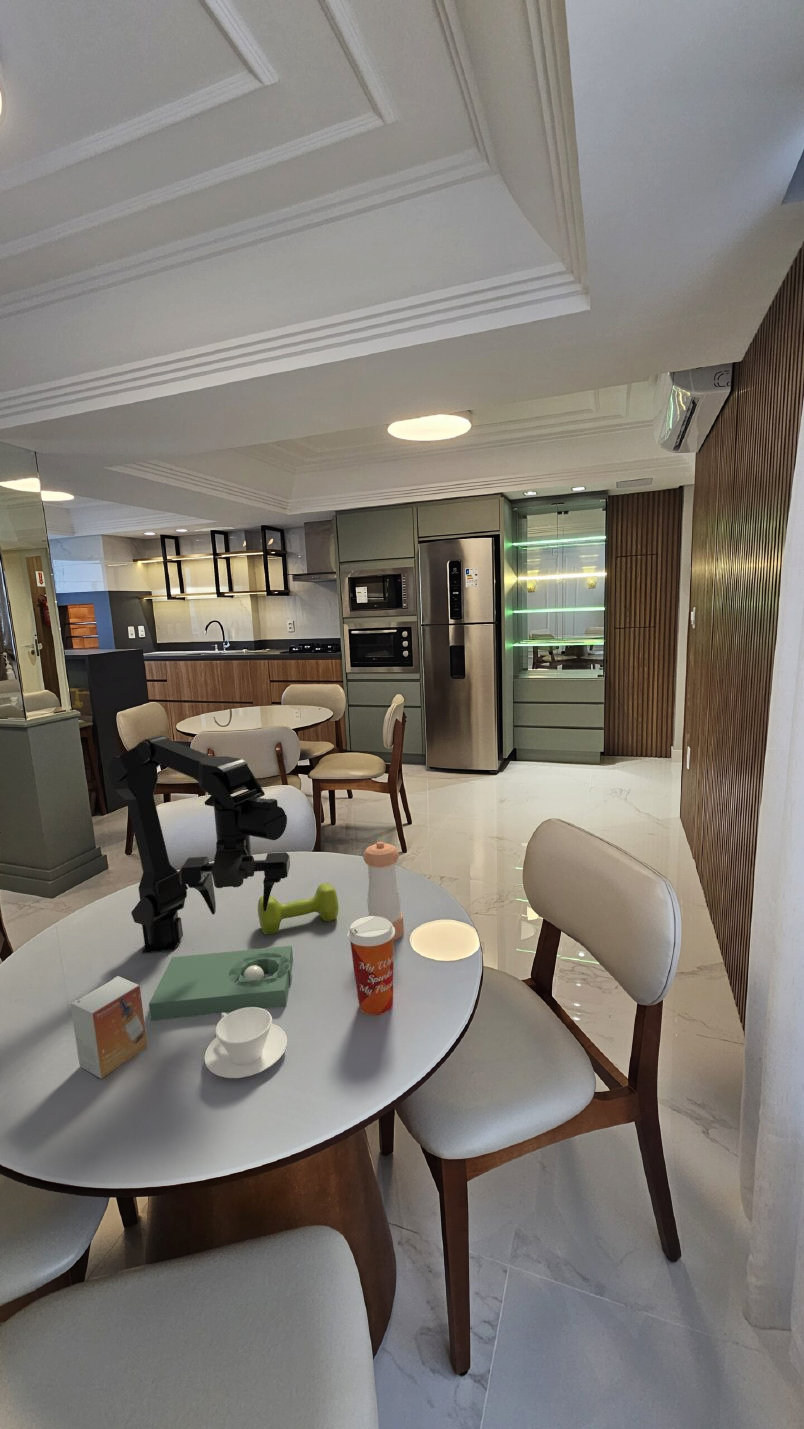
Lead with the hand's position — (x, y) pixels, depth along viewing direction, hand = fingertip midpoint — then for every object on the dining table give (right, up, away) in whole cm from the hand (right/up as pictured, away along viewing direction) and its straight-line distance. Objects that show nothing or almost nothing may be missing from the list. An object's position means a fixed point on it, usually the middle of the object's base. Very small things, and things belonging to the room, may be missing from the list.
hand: (239, 911), depth 115 cm
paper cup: (+25, -12, -11) cm, 30 cm away
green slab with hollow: (-1, -12, -4) cm, 13 cm away
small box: (-14, -16, -19) cm, 29 cm away
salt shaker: (+26, -8, +12) cm, 30 cm away
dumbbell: (+8, -8, +18) cm, 21 cm away
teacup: (+7, -15, -21) cm, 27 cm away
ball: (+3, -10, -4) cm, 11 cm away
